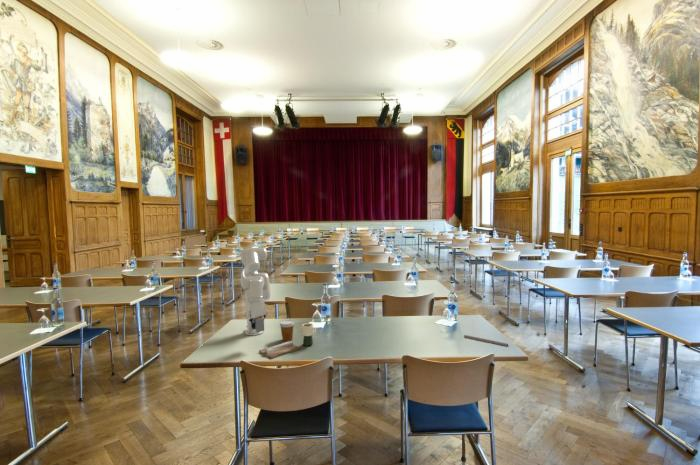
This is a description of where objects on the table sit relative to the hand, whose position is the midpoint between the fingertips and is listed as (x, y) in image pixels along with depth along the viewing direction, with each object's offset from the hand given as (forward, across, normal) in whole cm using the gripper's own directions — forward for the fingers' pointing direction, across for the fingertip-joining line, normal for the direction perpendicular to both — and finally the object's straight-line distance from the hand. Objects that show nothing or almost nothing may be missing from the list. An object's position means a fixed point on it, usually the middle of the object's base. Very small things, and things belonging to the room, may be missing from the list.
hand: (257, 326), depth 227 cm
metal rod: (+12, -106, +98) cm, 145 cm away
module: (+2, 0, 0) cm, 2 cm away
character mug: (+13, -24, +19) cm, 34 cm away
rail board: (+13, -6, +14) cm, 20 cm away
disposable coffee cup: (+14, -20, +2) cm, 25 cm away
